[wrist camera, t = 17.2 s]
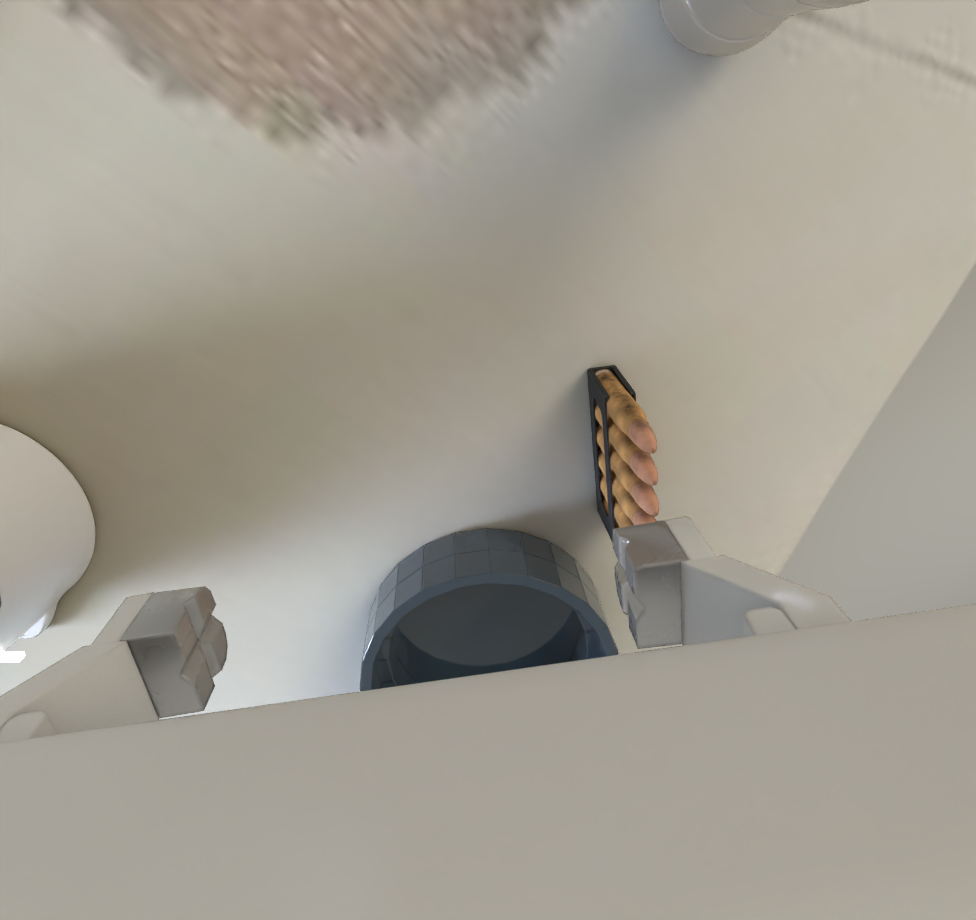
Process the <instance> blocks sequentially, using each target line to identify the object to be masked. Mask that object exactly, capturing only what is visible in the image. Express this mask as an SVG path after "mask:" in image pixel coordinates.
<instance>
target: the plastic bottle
mask: <svg viewBox="0 0 976 920" xmlns="http://www.w3.org/2000/svg"><path fill="white" fill-rule="evenodd" d="M866 1H869V0H659V7H660V11H661V14H662V18H663V20H664V22H665V24H666V26H667V28H668V30H669V31H670V33H671V34H672V35H673V36H674V38H675V39H676V40H677V41H678V42H680V43H681V44H682V45H683V46H684V47H686V48H688V49H690V50H692V51H694V52H698V53H701V54H706V55H717V56H726V55H731V54H737V53H740V52H742V51H744V50H747V49H749V48H751V47H752V46H754V45H755V44H757V43H758V42H760V41H761V40H762V39H764V38H765V37H766V36H768V35H769V34H770V33H771V32H772V31H773V30H774V29H775V28H776V27H777V26H778V25H779V24H780V23H781V22H782V21H784V20H785V19H787V18H788V17H790V16H793V15H795V14H799V13H802V12H805V11H809V10H818V9H829V8H839V7H844V6H849V5H854V4H858V3H861V2H866Z"/></svg>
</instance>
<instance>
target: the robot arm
mask: <svg viewBox="0 0 976 920" xmlns="http://www.w3.org/2000/svg"><path fill="white" fill-rule="evenodd" d="M95 537H96V536H95V523H94V518H93V514H92V510H91V507H90V504H89V502H88V500H87V497H86V495H85V493H84V492H83V490H82V488H81V486H80V485H79V483H78V482H77V480H76V479H75V478H74V476H73V475H72V474H71V472H70V471H69V470H68V469H67V468H66V467H65V466H64V464H63V463H62V462H61V461H60V460H59V459H57V458H56V457H55V456H54V455H53V454H52V453H51V452H49V451H48V450H47V449H46V448H44V447H43V446H42V445H40V444H39V443H37V442H36V441H34V440H33V439H31V438H29V437H28V436H26V435H24V434H22V433H20V432H18V431H16V430H14V429H12V428H10V427H7V426H5V425H2V424H0V662H20V661H21V660H22V659H23V658H24V656H25V652H24V651H23V652H5V651H6V650H7V649H8V648H9V647H10V646H11V645H13V644H14V643H15V642H16V641H17V640H18V639H19V638H32V637H36V636H38V635H39V634H40V633H42V632H43V631H44V630H45V629H46V628H47V627H48V626H49V625H50V623H51V621H52V619H53V617H54V614H55V611H56V607H57V603H58V601H59V599H60V598H61V596H62V595H63V594H64V593H65V592H66V591H67V590H69V589H70V588H71V587H72V586H73V585H74V584H75V583H76V582H77V581H78V580H79V579H80V578H81V576H82V575H83V574H84V572H85V571H86V569H87V567H88V565H89V563H90V561H91V558H92V556H93V552H94V547H95ZM613 549H614V551H615V554H616V556H617V558H618V562H617V564H616V565H615V567H614V569H615V580H616V587H617V593H618V597H619V601H620V604H621V607H622V610H623V612H624V613H625V614H627V615H628V616H629V628H630V630H631V632H632V635H633V637H634V640H635V642H636V645H637V647H638V649H641V648H650V647H659V646H667V645H676V644H683V646H676V647H669V648H662V649H655V650H648V651H641V652H634V653H627V654H620V655H613V656H606V657H599V658H592V659H585V660H578V661H571V662H564V663H557V664H550V665H543V666H536V667H529V668H522V669H515V670H508V671H501V672H494V673H487V674H480V675H473V676H466V677H459V678H452V679H445V680H438V681H431V682H424V683H417V684H410V685H403V686H396V687H388V688H381V689H374V690H367V691H360V692H353V693H346V694H339V695H332V696H325V697H318V698H311V699H304V700H297V701H290V702H283V703H276V704H269V705H262V706H255V707H248V708H241V709H234V710H227V711H220V712H212V713H205V714H198V715H191V716H184V717H177V718H170V719H163V720H159V718H164V717H170V716H175V715H181V714H187V713H193V712H199V711H204V709H205V707H206V705H207V702H208V700H209V698H210V696H211V693H212V691H213V689H214V687H215V685H214V682H213V679H212V677H214V676H215V675H216V674H217V673H219V672H220V671H221V670H222V668H223V666H224V663H225V661H226V656H227V638H226V632H225V629H224V626H223V623H222V622H220V621H219V620H218V619H216V618H215V617H214V616H212V615H211V614H212V612H213V610H214V608H215V605H216V603H215V601H214V598H213V596H212V593H211V591H210V590H209V589H208V588H206V587H205V586H204V587H196V588H188V589H180V590H172V591H163V592H157V593H154V592H152V593H146V594H140V595H134V596H130V597H127V598H126V599H125V600H124V601H123V603H122V604H121V605H120V607H119V608H118V609H117V611H116V612H115V613H114V615H113V616H112V617H111V619H110V620H109V622H108V623H107V624H106V626H105V627H104V628H103V630H102V631H101V632H100V634H99V635H98V636H97V638H96V639H95V640H94V642H93V643H92V644H91V645H90V646H83V647H81V648H80V649H78V650H76V651H75V652H73V653H71V654H70V655H68V656H66V657H65V658H63V659H61V660H60V661H58V662H56V663H55V664H53V665H51V666H50V667H48V668H47V669H45V670H43V671H42V672H40V673H38V674H37V675H35V676H33V677H32V678H30V679H28V680H27V681H25V682H23V683H22V684H20V685H18V686H17V687H15V688H13V689H12V690H10V691H8V692H7V693H5V694H4V695H2V696H0V920H976V604H972V605H964V606H957V607H950V608H943V609H936V610H929V611H922V612H915V613H908V614H901V615H894V616H887V617H880V618H873V619H865V620H859V621H852V620H851V619H850V618H849V617H848V616H847V615H846V614H845V612H844V611H843V610H842V609H841V608H840V607H839V606H838V605H837V603H836V602H835V601H834V600H833V599H832V598H831V597H830V596H827V595H824V594H822V593H819V592H817V591H814V590H812V589H809V588H806V587H804V586H801V585H799V584H796V583H794V582H791V581H789V580H786V579H783V578H781V577H778V576H776V575H773V574H771V573H768V572H765V571H763V570H760V569H758V568H755V567H753V566H750V565H747V564H745V563H742V562H740V561H737V560H735V559H732V558H730V557H727V556H724V555H722V556H716V554H715V553H714V552H713V550H712V549H711V547H710V546H709V545H708V543H707V542H706V540H705V539H704V537H703V536H702V535H701V533H700V532H699V530H698V529H697V528H696V526H695V525H694V523H693V522H692V520H691V519H690V518H689V517H680V518H675V519H669V520H664V521H657V522H651V523H645V524H639V525H633V526H627V527H621V528H615V529H613Z"/></svg>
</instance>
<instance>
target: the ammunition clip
mask: <svg viewBox="0 0 976 920" xmlns="http://www.w3.org/2000/svg"><path fill="white" fill-rule="evenodd" d="M587 374H588V388H589V401H590V414H591V428H592V441H593V454H594V467H595V481H596V494H597V507H598V513H599V515H600V517H601V519H602V521H603V523H604V525H605V528H606V530H607V532H608V534H609V536H610V538H611V540H612V542H613V529H615V528H621V527H627V526H633V525H639V524H645V523H651V522H657V521H656V519H655V517H654V516H657V515H658V513H659V502H658V498H657V496H656V493H655V491H654V489H653V488H652V485H656V484H657V481H658V472H657V468H656V466H655V464H654V461H653V460H652V458H651V456H650V454H649V453H654V452H655V451H656V449H657V441H656V437H655V435H654V433H653V431H652V429H651V427H650V426H649V424H648V422H647V420H646V416H645V414H644V412H643V410H642V409H641V408H640V407H639V405H638V404H637V403H636V395H635V391H634V390H633V389H632V387H631V386H630V385H629V383H628V382H627V381H626V379H625V378H624V377H623V375H622V374H621V373H620V371H619V370H618V369H617V367H616V366H615V365H611V366H604V367H597V368H590V369H588V370H587Z"/></svg>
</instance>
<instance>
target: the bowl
mask: <svg viewBox="0 0 976 920" xmlns="http://www.w3.org/2000/svg"><path fill="white" fill-rule="evenodd" d="M613 655H619V654H618V649H617V647H616V644H615V641H614V638H613V635H612V632H611V630H610V627H609V624H608V621H607V618H606V616H605V613H604V610H603V607H602V604H601V602H600V599H599V597H598V594H597V592H596V590H595V587H594V585H593V582H592V580H591V578H590V577H589V576H588V575H587V573H586V572H585V571H584V570H583V569H582V568H581V566H580V565H579V564H578V563H577V562H576V560H575V559H574V558H572V557H571V556H570V555H568V554H567V553H565V552H564V551H562V550H561V549H559V548H558V547H556V546H554V545H553V544H551V543H550V542H548V541H545V540H542V539H539V538H537V537H534V536H531V535H528V534H525V533H522V532H519V531H510V530H499V529H488V528H487V529H479V530H472V531H465V532H458V533H454V534H451V535H448V536H446V537H443V538H441V539H438V540H436V541H433V542H430V543H428V544H425V546H422V547H421V548H419V549H418V550H417V551H415V552H414V553H412V554H411V555H410V556H408V557H407V558H405V559H404V560H402V561H401V562H400V563H398V565H397V566H396V567H395V568H394V570H393V571H392V572H391V573H390V574H389V576H388V577H387V578H386V579H385V580H384V582H383V583H382V584H381V586H380V588H379V590H378V593H377V595H376V598H375V600H374V602H373V605H372V607H371V610H370V615H369V621H368V627H367V633H366V639H365V645H364V651H363V657H362V666H361V678H360V691H367V690H374V689H381V688H388V687H396V686H403V685H410V684H417V683H424V682H431V681H438V680H445V679H452V678H459V677H466V676H473V675H480V674H487V673H494V672H501V671H508V670H515V669H522V668H529V667H536V666H543V665H550V664H557V663H564V662H571V661H578V660H585V659H592V658H599V657H606V656H613Z"/></svg>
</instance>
